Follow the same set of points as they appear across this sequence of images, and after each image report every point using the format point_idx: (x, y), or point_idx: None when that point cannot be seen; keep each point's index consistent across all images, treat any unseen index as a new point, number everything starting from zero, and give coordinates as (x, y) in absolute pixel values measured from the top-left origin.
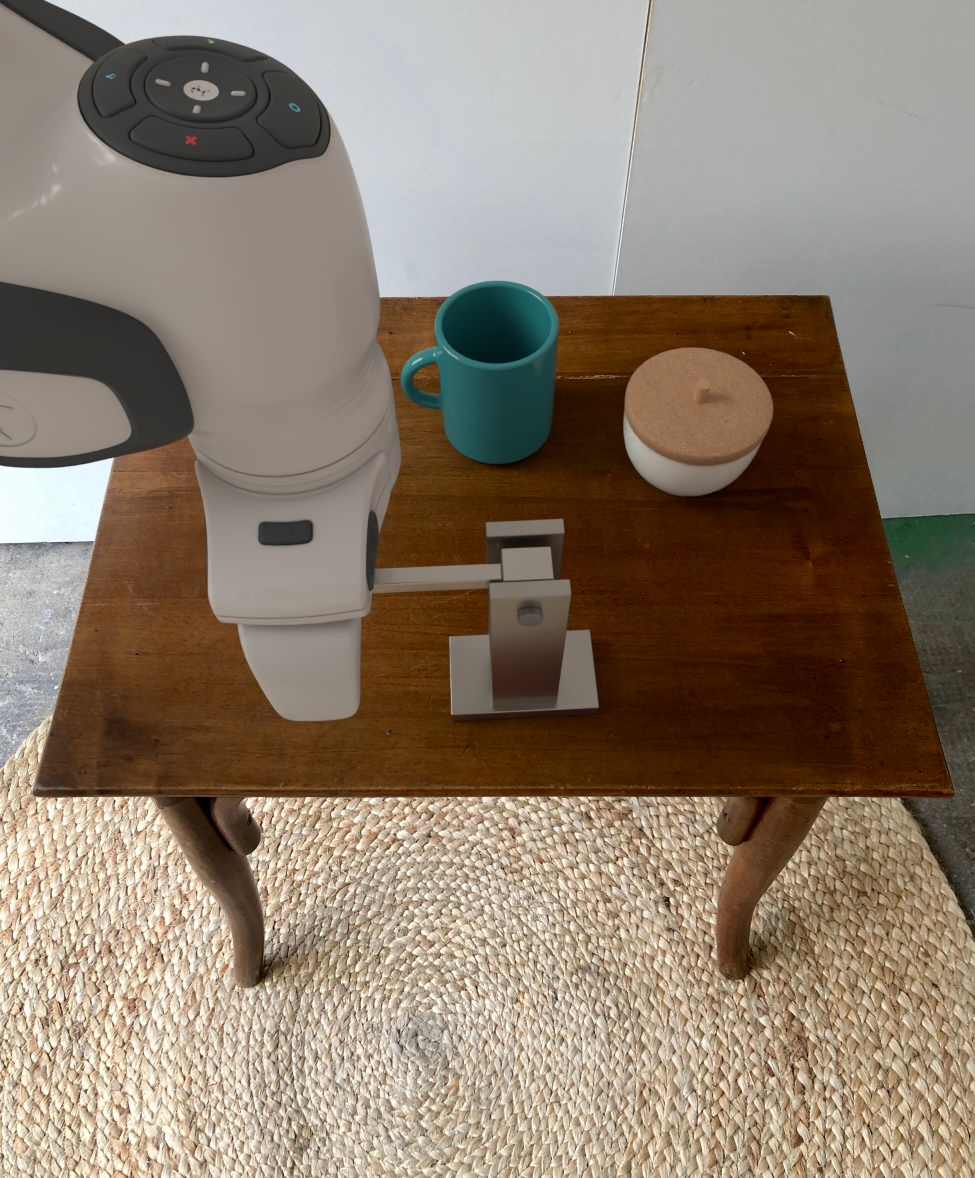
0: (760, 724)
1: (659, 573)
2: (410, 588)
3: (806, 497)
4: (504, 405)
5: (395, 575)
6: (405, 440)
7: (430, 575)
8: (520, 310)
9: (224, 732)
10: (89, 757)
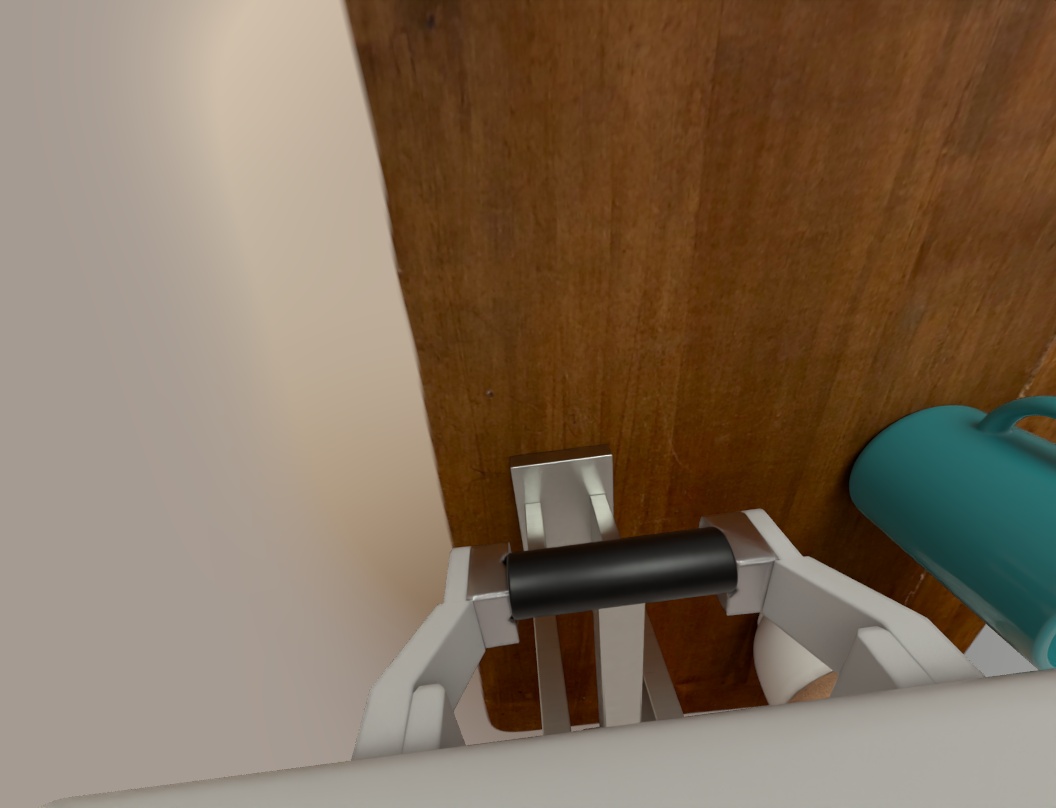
0: (527, 662)
1: (675, 603)
2: (598, 678)
3: (735, 683)
4: (953, 564)
5: (623, 680)
6: (934, 354)
7: (620, 719)
8: None
9: (462, 158)
10: None
